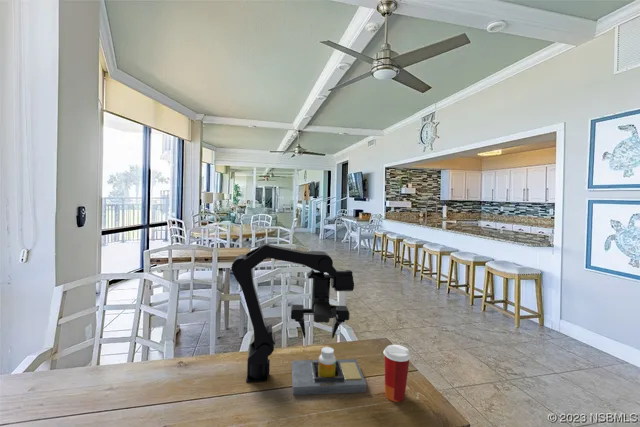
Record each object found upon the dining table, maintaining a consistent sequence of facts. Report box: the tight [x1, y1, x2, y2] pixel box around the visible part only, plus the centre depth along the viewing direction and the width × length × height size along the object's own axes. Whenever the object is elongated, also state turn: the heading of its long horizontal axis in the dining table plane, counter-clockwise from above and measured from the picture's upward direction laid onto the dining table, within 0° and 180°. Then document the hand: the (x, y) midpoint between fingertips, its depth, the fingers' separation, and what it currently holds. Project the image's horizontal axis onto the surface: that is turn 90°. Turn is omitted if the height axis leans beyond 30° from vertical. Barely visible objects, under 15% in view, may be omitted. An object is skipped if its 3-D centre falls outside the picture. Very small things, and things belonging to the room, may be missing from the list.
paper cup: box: [383, 344, 412, 403], centre depth 91 cm, size 8×8×14 cm
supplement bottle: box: [317, 346, 337, 377], centre depth 98 cm, size 5×5×10 cm
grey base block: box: [291, 358, 368, 396], centre depth 98 cm, size 22×14×3 cm, turn 97°
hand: (318, 337), depth 101 cm, fingers open, 9 cm apart
